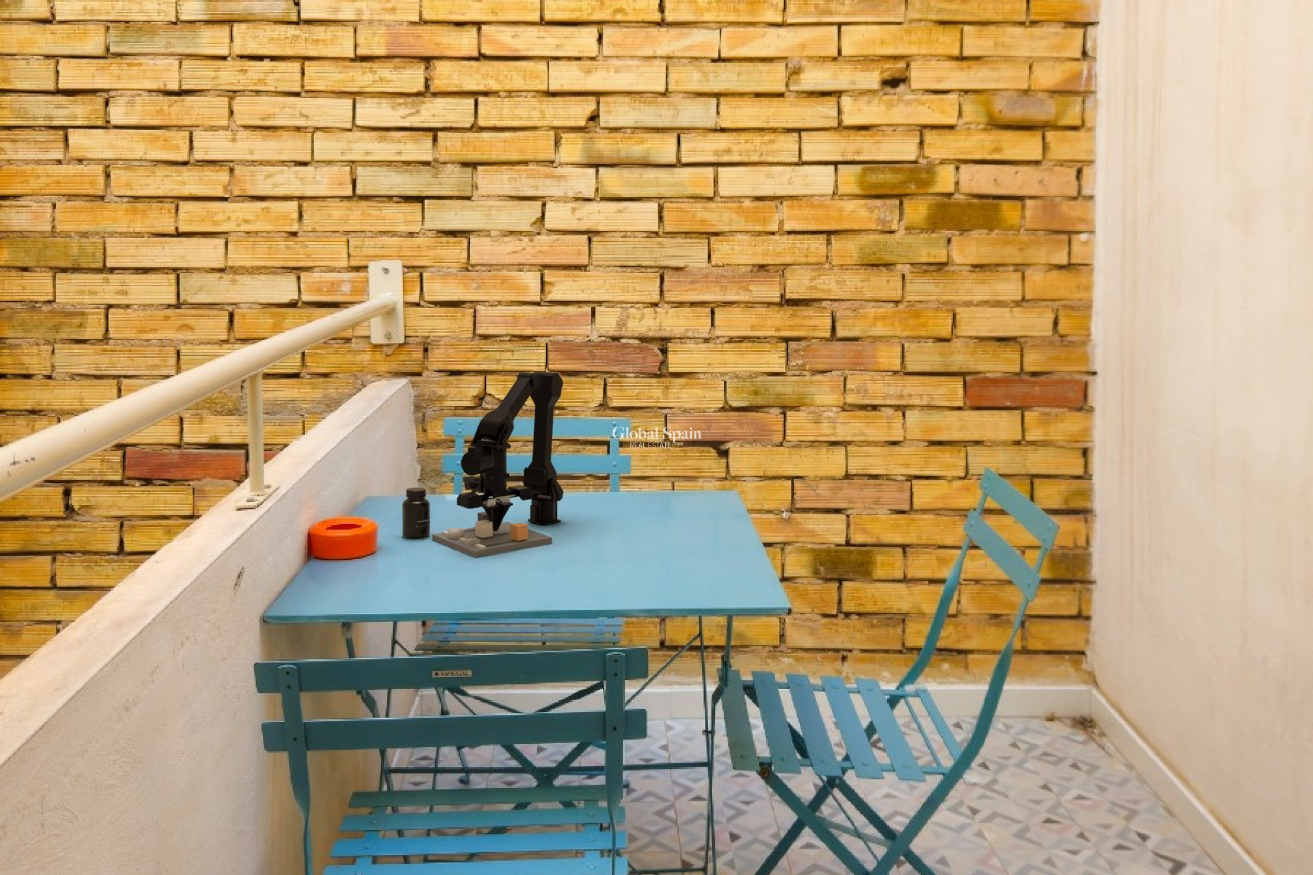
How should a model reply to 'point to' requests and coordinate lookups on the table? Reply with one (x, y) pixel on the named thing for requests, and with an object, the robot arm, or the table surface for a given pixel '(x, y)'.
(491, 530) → the ivory slider
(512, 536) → the orange slider
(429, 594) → the table surface
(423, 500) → the supplement bottle
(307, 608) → the table surface
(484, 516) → the dark brown slider
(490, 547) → the control board
